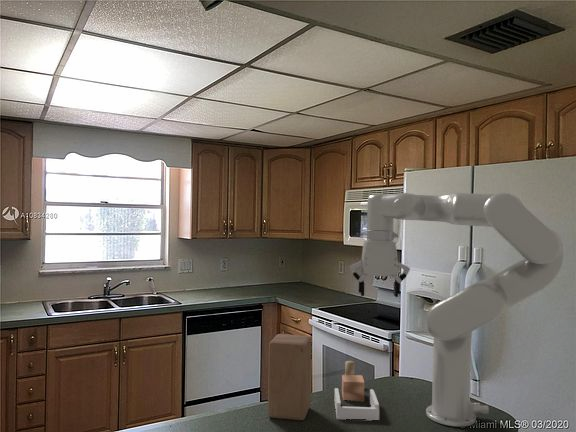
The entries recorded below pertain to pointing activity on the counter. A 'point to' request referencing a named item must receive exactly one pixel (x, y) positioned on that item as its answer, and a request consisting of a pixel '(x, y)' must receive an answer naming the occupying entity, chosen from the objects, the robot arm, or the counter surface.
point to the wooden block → (289, 376)
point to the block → (352, 384)
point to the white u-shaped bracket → (357, 409)
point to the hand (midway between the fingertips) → (379, 295)
